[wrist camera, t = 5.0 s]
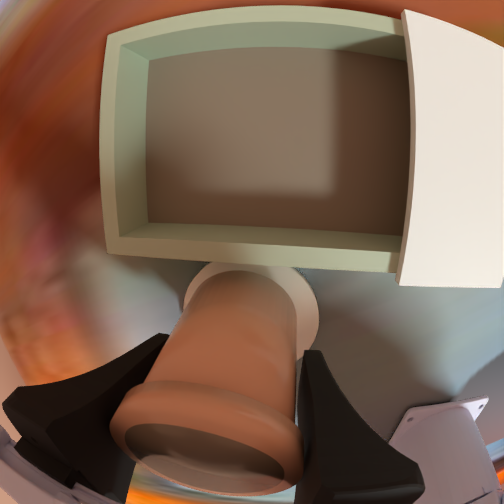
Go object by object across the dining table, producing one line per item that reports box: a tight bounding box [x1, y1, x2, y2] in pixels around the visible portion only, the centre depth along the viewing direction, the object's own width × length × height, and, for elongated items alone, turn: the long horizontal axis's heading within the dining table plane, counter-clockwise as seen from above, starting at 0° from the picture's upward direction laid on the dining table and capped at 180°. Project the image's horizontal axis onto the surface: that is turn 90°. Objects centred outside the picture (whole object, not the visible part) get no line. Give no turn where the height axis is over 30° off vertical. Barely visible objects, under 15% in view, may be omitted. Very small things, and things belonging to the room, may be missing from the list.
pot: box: [109, 270, 304, 496], centre depth 10 cm, size 6×6×8 cm
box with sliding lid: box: [99, 5, 504, 288], centre depth 10 cm, size 11×18×4 cm, turn 89°
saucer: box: [183, 262, 319, 360], centre depth 15 cm, size 7×7×1 cm
